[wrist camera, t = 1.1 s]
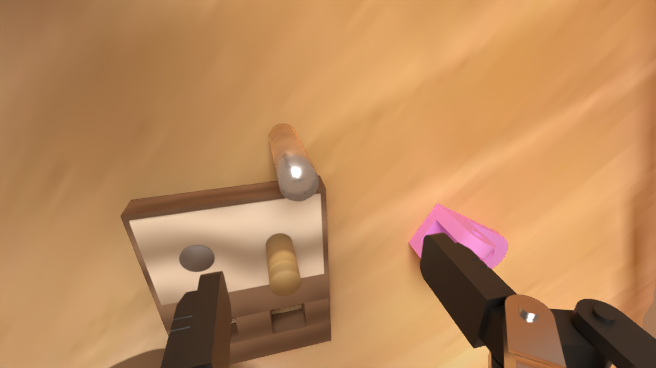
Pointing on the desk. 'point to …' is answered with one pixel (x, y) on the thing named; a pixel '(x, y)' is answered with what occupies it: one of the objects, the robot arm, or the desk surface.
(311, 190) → the grey metal pin
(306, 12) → the desk surface
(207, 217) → the pin board
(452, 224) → the bracket
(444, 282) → the robot arm
